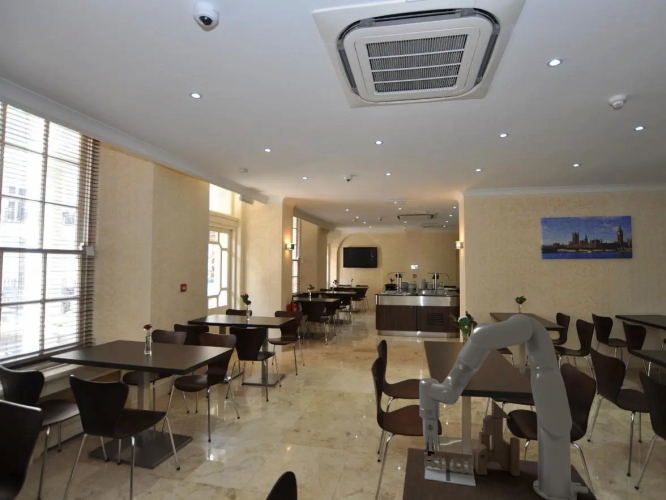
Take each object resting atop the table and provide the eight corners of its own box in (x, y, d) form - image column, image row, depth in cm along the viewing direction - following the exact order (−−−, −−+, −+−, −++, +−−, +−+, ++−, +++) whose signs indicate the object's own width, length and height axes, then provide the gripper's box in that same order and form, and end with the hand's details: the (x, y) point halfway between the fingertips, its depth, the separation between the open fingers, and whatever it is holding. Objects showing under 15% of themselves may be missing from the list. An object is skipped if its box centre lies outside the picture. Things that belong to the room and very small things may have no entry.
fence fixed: (471, 474, 140) (471, 458, 140) (471, 476, 139) (471, 459, 139) (450, 471, 142) (450, 455, 142) (450, 473, 141) (450, 457, 141)
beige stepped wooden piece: (449, 469, 142) (449, 455, 142) (449, 471, 141) (449, 457, 141) (424, 466, 144) (424, 452, 144) (424, 468, 143) (424, 453, 143)
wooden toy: (477, 475, 139) (477, 404, 140) (471, 465, 145) (472, 398, 146) (521, 477, 138) (521, 406, 139) (513, 467, 145) (513, 399, 146)
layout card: (472, 465, 146) (472, 464, 146) (475, 486, 132) (475, 485, 132) (425, 459, 150) (425, 458, 150) (424, 479, 137) (424, 478, 137)
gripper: (441, 420, 140) (441, 472, 139) (438, 405, 155) (438, 452, 154) (419, 418, 141) (420, 470, 141) (419, 404, 156) (419, 450, 155)
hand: (429, 460), depth 147 cm, fingers closed
